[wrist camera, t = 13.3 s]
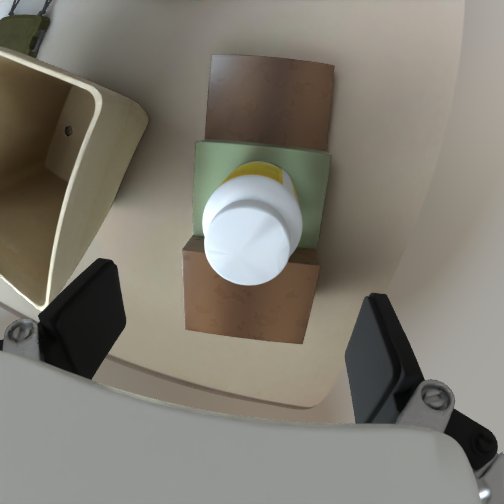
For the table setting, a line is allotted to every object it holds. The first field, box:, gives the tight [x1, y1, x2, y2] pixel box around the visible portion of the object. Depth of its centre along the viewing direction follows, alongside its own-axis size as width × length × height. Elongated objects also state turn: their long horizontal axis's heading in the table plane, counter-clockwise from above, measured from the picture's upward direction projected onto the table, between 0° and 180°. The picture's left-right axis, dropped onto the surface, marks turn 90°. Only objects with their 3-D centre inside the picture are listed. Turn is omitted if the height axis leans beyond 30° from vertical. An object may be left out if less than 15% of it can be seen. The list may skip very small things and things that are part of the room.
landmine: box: [0, 0, 52, 58], centre depth 21 cm, size 14×3×15 cm
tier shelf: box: [182, 54, 335, 344], centre depth 27 cm, size 12×27×9 cm, turn 175°
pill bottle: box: [202, 160, 302, 285], centre depth 21 cm, size 6×6×12 cm
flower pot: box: [0, 47, 148, 311], centre depth 23 cm, size 19×19×17 cm
